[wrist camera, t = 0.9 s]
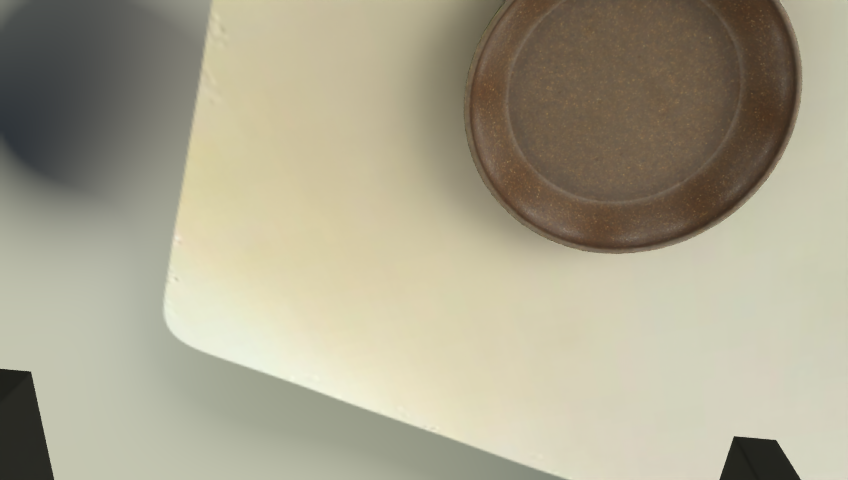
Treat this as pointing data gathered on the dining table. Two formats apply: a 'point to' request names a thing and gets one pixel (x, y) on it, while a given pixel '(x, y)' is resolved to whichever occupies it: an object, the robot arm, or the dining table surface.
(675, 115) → the saucer
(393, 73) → the dining table surface
